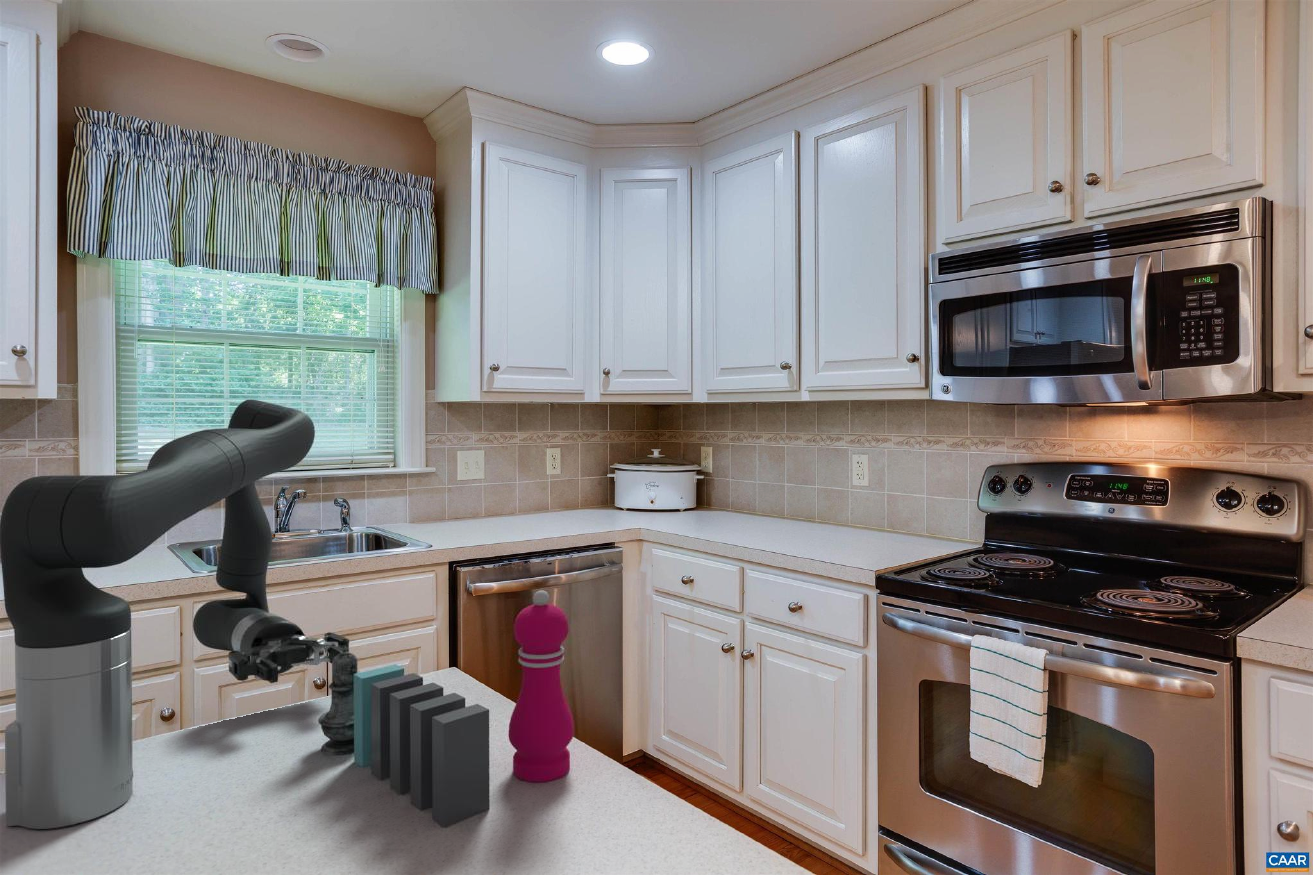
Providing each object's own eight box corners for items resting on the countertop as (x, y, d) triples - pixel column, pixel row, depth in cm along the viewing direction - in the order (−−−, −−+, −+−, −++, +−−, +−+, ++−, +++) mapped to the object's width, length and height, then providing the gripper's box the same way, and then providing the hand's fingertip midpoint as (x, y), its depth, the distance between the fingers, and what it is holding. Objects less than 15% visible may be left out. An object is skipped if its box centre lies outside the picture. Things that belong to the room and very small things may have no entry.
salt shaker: (335, 760, 86) (334, 656, 86) (308, 747, 89) (308, 647, 89) (381, 743, 90) (380, 644, 90) (354, 731, 94) (353, 636, 94)
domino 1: (354, 761, 86) (353, 674, 85) (395, 748, 89) (395, 664, 89) (362, 767, 84) (361, 678, 84) (404, 753, 88) (404, 668, 87)
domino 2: (371, 774, 82) (371, 683, 82) (414, 759, 86) (413, 673, 86) (380, 780, 81) (379, 688, 81) (423, 765, 84) (423, 677, 84)
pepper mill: (587, 765, 85) (587, 588, 84) (545, 791, 78) (544, 600, 78) (538, 750, 88) (538, 581, 88) (494, 774, 82) (494, 592, 82)
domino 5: (432, 819, 73) (432, 717, 73) (477, 801, 76) (477, 703, 76) (444, 828, 71) (443, 723, 71) (489, 809, 75) (489, 709, 75)
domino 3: (390, 788, 79) (389, 693, 79) (433, 772, 83) (433, 682, 83) (399, 795, 78) (399, 699, 78) (443, 779, 81) (443, 687, 81)
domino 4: (410, 803, 76) (410, 704, 76) (454, 786, 80) (454, 692, 79) (421, 810, 74) (420, 710, 74) (465, 793, 78) (465, 697, 78)
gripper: (212, 625, 104) (250, 649, 92) (317, 607, 114) (364, 627, 102) (212, 679, 104) (250, 710, 92) (318, 656, 114) (364, 682, 102)
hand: (310, 667), depth 97 cm, fingers open, 8 cm apart
